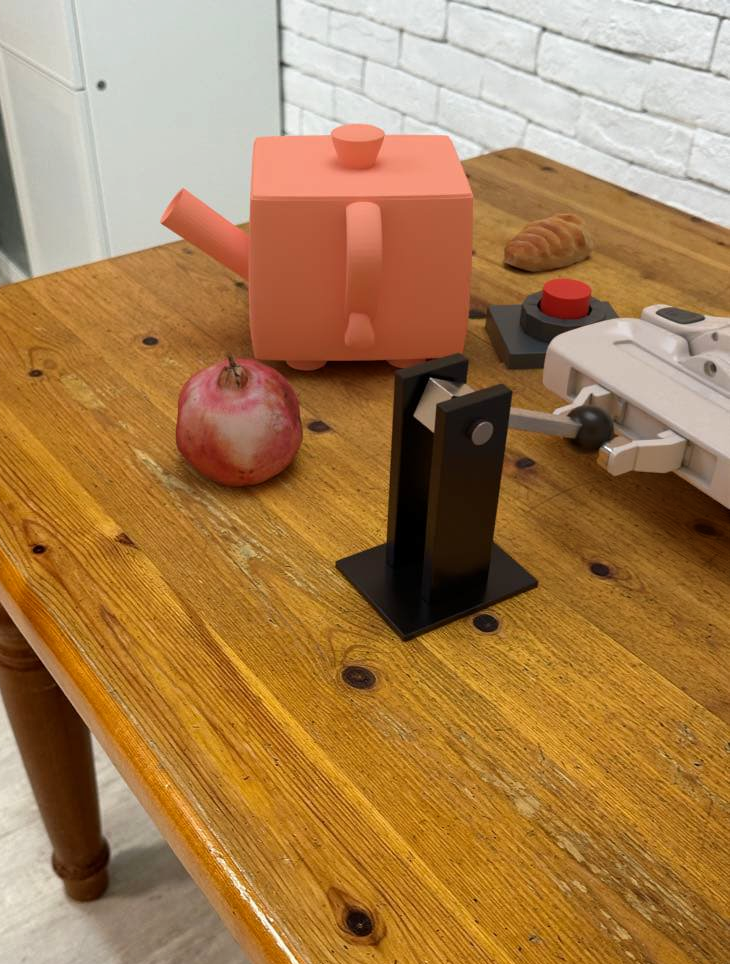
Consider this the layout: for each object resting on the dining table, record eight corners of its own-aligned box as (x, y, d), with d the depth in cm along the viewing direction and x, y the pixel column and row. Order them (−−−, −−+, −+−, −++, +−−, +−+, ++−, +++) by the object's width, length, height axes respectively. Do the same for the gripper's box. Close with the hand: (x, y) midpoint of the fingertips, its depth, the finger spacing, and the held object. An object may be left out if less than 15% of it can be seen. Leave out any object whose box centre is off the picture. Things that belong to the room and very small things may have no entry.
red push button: (580, 299, 90) (584, 277, 89) (593, 320, 87) (597, 298, 86) (535, 301, 90) (538, 279, 89) (546, 322, 87) (550, 299, 86)
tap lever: (575, 442, 68) (598, 398, 67) (609, 466, 66) (633, 422, 65) (404, 418, 59) (427, 366, 58) (437, 445, 57) (461, 392, 56)
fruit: (228, 421, 82) (221, 302, 75) (328, 460, 77) (329, 338, 71) (148, 476, 76) (133, 352, 69) (252, 522, 71) (245, 394, 65)
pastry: (537, 283, 101) (542, 245, 99) (484, 262, 105) (488, 225, 103) (596, 257, 106) (602, 220, 104) (544, 238, 110) (549, 202, 108)
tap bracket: (461, 527, 71) (482, 329, 62) (536, 595, 66) (572, 389, 56) (334, 575, 67) (337, 371, 58) (403, 651, 62) (418, 439, 52)
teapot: (160, 405, 83) (135, 182, 72) (181, 283, 101) (164, 89, 90) (472, 400, 84) (495, 178, 73) (438, 280, 102) (453, 87, 91)
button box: (604, 323, 95) (611, 281, 92) (635, 372, 88) (645, 329, 85) (484, 327, 94) (489, 286, 92) (507, 377, 87) (512, 334, 85)
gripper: (851, 505, 66) (691, 572, 61) (627, 371, 80) (480, 416, 75) (884, 418, 62) (715, 481, 57) (642, 294, 76) (489, 335, 71)
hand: (580, 443), depth 66 cm, fingers closed on tap lever, 3 cm apart
